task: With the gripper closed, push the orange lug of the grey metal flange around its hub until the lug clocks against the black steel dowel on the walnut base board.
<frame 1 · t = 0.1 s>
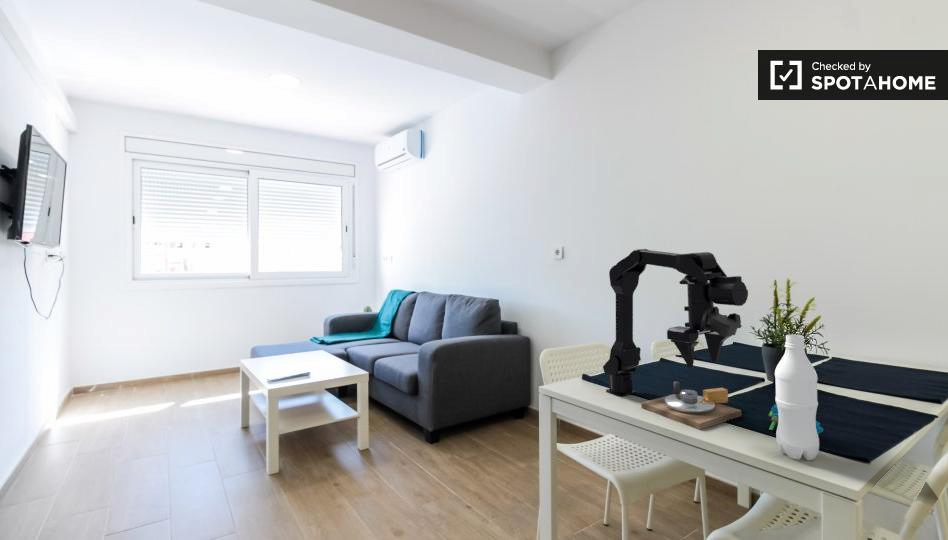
hand: (702, 364, 111), 15 cm above the table, tool pointing down, fingers open, 9 cm apart
green blue toy figure: (794, 435, 101), on the table
base board: (689, 411, 118), on the table
flange: (697, 397, 118), point 4 cm above the table, hinge at 75.0°
water bottle: (797, 456, 92), on the table
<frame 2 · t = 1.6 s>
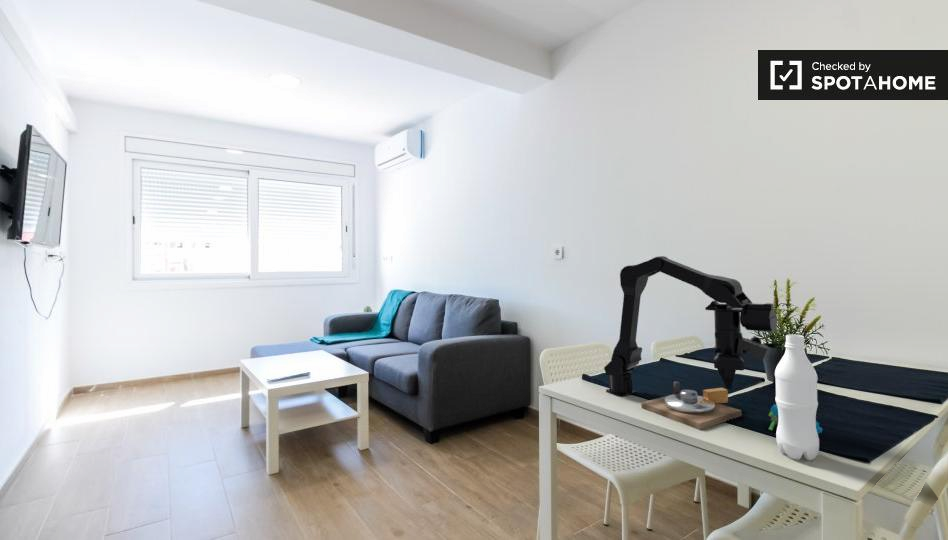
hand: (729, 388, 113), 7 cm above the table, tool pointing down, fingers closed
nothing on the table moved.
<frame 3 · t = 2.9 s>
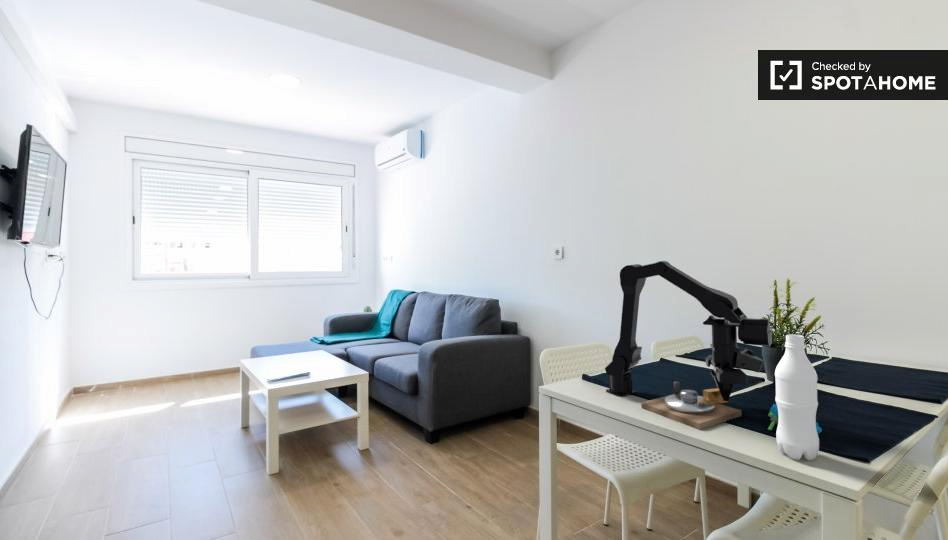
hand: (725, 400, 117), 3 cm above the table, tool pointing down, fingers closed
flange: (697, 397, 118), point 4 cm above the table, hinge at 75.0°, touching gripper
everything else where it was.
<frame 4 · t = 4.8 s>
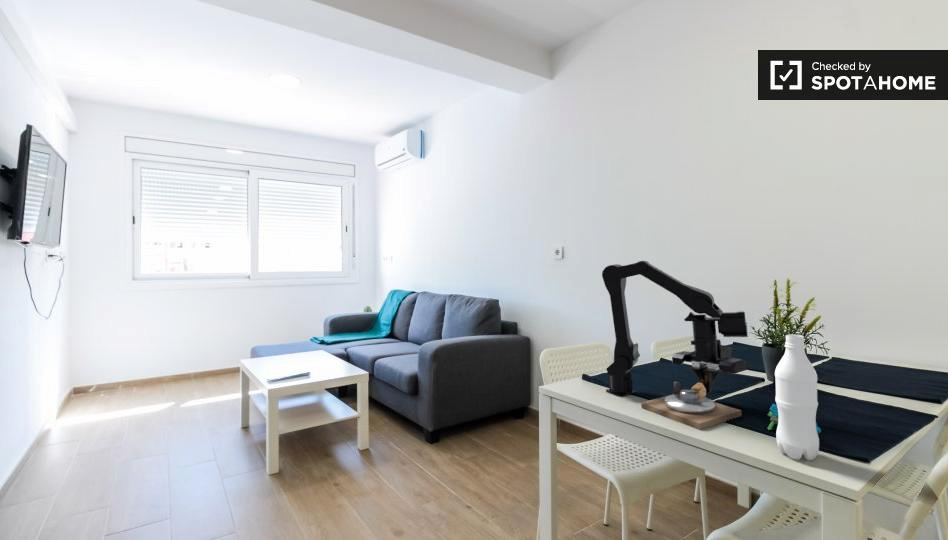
hand: (709, 392, 123), 3 cm above the table, tool pointing down, fingers closed
flange: (692, 396, 120), point 4 cm above the table, hinge at 110.6°, touching gripper
everything else where it was.
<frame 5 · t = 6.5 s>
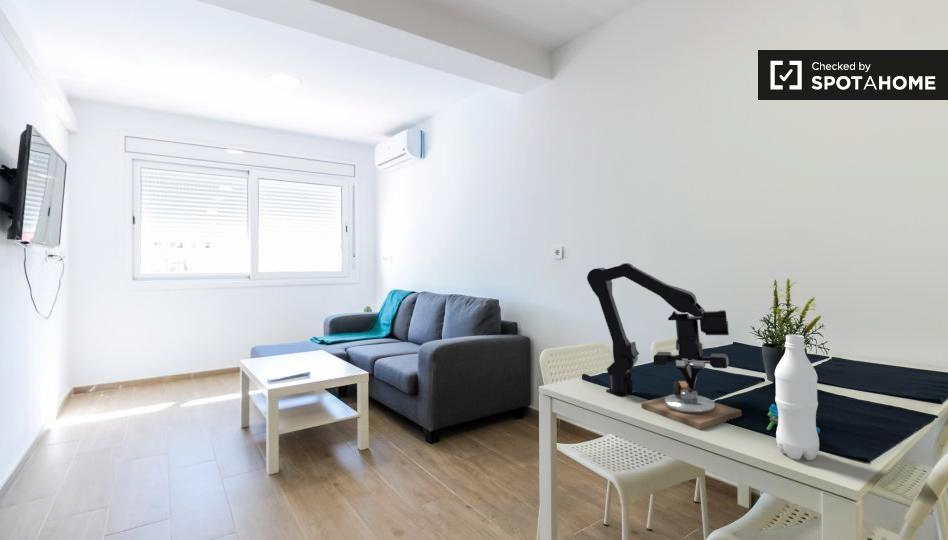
hand: (692, 389, 126), 3 cm above the table, tool pointing down, fingers closed
flange: (687, 395, 120), point 4 cm above the table, hinge at 137.8°, touching base board, gripper
everything else where it was.
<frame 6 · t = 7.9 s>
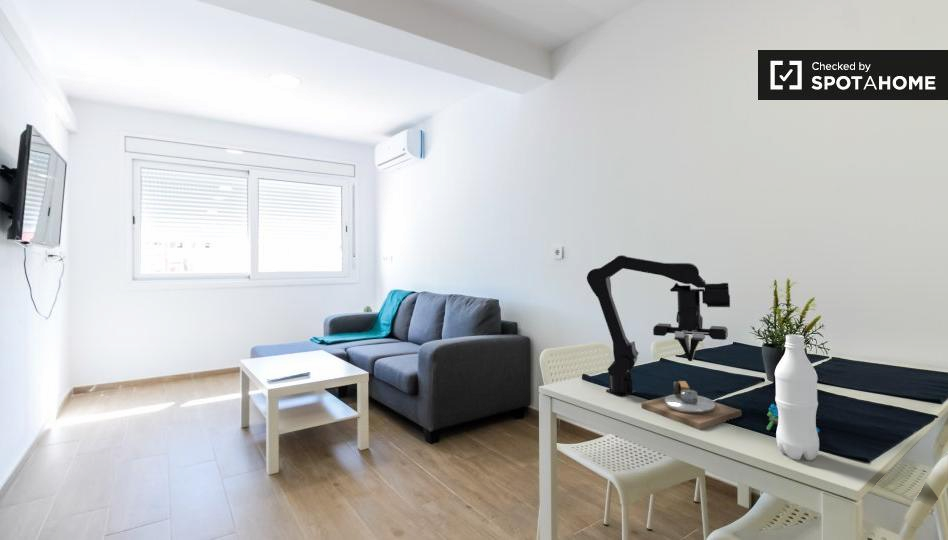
hand: (690, 360, 127), 11 cm above the table, tool pointing down, fingers closed
flange: (687, 395, 120), point 4 cm above the table, hinge at 137.7°
everything else where it was.
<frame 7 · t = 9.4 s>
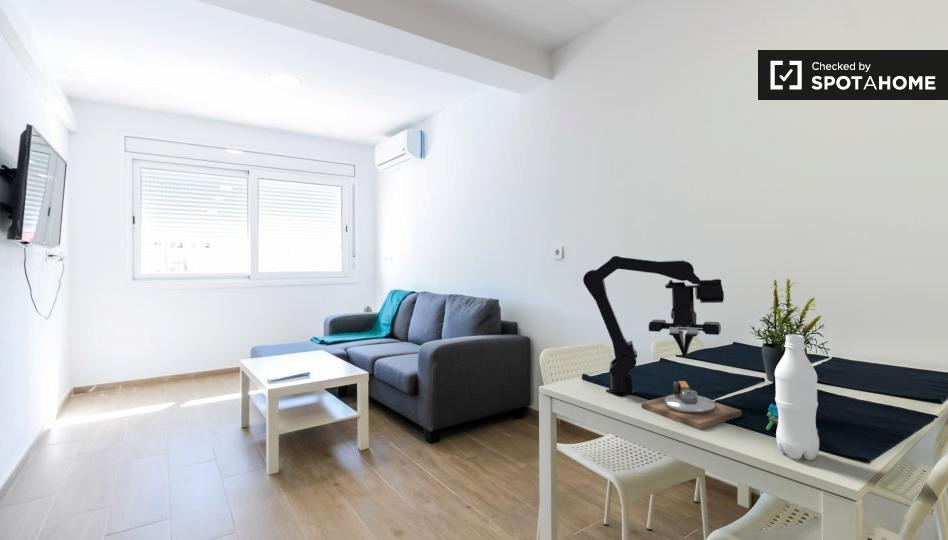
hand: (684, 355, 130), 12 cm above the table, tool pointing down, fingers closed
nothing on the table moved.
at the end: flange at +138° (first picture: +75°) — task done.
